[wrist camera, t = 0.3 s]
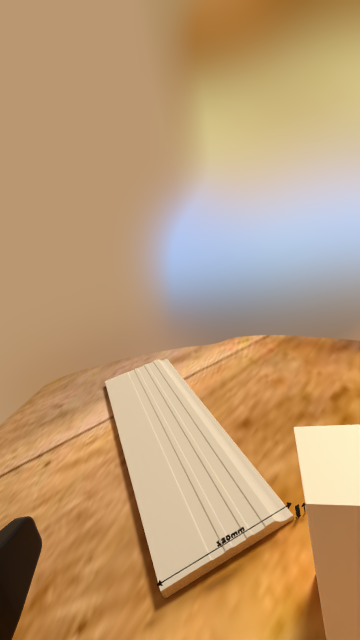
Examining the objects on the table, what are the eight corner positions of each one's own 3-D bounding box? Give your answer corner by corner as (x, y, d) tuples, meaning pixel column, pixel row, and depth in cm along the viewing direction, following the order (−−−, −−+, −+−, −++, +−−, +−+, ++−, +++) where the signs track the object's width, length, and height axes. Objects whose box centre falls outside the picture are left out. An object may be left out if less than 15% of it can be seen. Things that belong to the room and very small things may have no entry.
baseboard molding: (176, 360, 51) (108, 389, 48) (171, 345, 50) (101, 374, 47) (311, 515, 23) (166, 606, 20) (306, 488, 22) (154, 580, 19)
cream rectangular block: (420, 678, 14) (432, 508, 10) (329, 662, 16) (305, 503, 11) (388, 580, 18) (386, 423, 14) (315, 573, 19) (293, 427, 15)
